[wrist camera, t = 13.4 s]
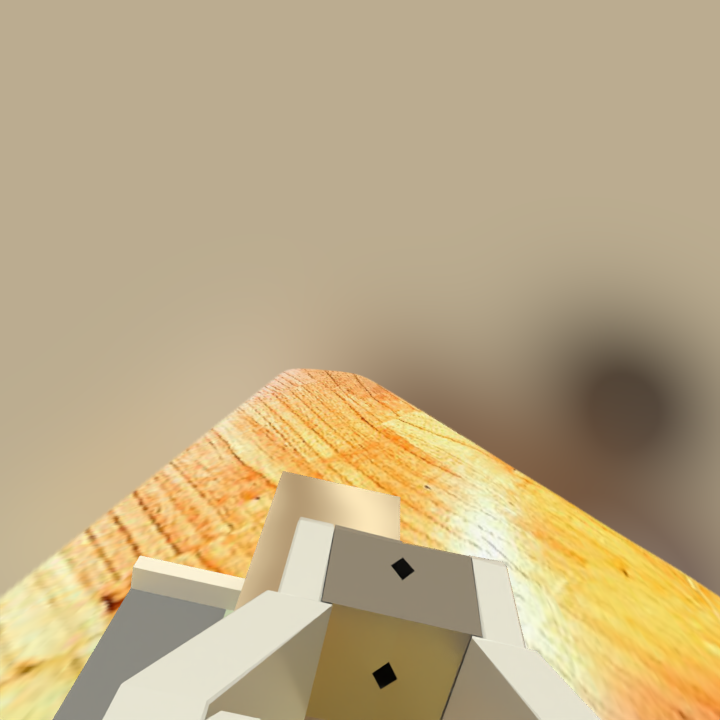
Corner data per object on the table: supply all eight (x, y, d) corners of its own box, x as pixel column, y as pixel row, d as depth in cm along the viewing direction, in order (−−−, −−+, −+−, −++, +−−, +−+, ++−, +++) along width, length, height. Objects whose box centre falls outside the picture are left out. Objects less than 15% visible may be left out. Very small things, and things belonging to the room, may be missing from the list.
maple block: (358, 647, 35) (400, 497, 31) (339, 864, 25) (399, 676, 21) (252, 624, 35) (283, 471, 31) (189, 833, 24) (224, 638, 21)
